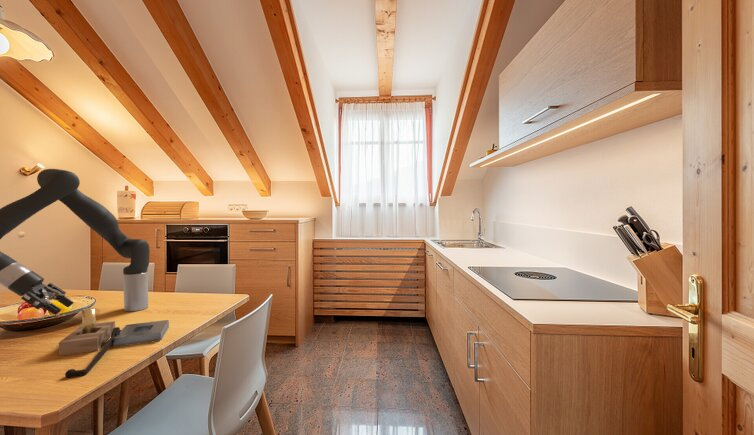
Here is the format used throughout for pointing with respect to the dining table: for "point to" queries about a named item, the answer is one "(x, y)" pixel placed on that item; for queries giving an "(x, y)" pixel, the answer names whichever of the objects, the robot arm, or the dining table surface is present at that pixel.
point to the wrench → (77, 373)
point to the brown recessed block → (86, 339)
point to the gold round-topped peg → (88, 321)
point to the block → (141, 333)
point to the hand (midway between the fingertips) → (65, 308)
